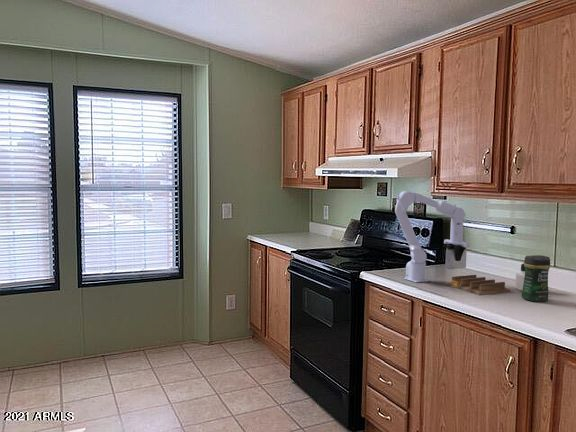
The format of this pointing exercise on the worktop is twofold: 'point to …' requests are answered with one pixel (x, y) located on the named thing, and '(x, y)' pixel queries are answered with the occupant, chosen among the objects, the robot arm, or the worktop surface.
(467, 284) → the slot rack
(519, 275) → the medicine bottle
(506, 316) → the worktop surface
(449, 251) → the grey brushed metal block
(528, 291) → the coffee jar
